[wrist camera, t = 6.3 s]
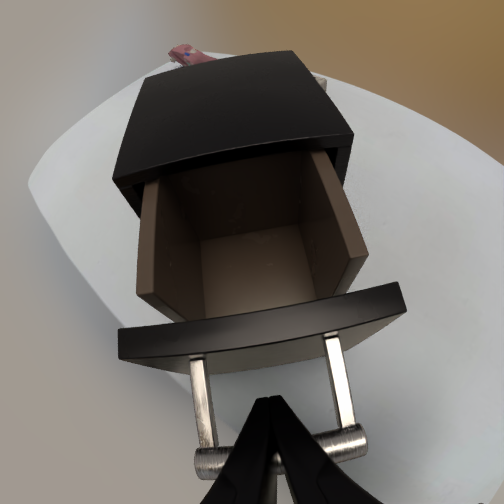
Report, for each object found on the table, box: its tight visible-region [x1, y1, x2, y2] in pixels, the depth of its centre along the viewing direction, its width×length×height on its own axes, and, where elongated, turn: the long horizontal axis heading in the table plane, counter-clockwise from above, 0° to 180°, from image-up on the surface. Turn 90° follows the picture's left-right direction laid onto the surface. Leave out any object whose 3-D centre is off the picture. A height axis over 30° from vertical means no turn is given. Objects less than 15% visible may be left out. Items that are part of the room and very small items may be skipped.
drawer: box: [118, 148, 407, 480], centre depth 14 cm, size 15×10×10 cm
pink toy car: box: [168, 45, 217, 67], centre depth 38 cm, size 10×5×7 cm, turn 39°
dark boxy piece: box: [112, 51, 354, 220], centre depth 19 cm, size 12×12×12 cm
